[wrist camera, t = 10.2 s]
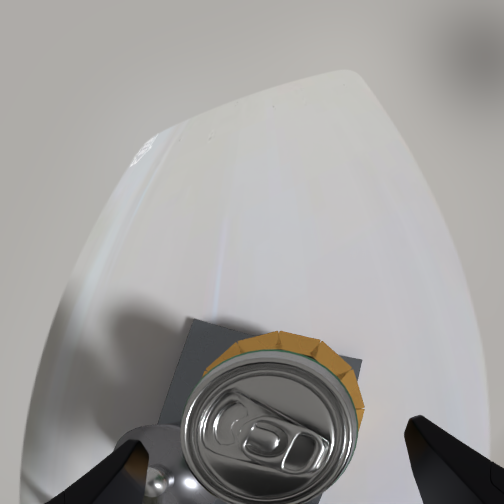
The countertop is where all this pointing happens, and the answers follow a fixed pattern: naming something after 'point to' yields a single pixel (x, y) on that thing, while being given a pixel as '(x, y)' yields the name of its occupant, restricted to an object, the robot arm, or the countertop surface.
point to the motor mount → (186, 377)
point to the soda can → (268, 429)
